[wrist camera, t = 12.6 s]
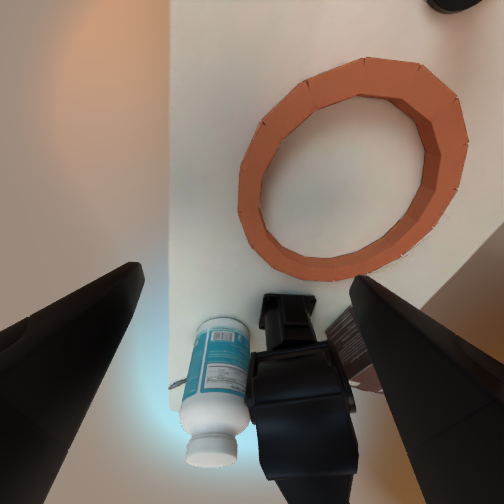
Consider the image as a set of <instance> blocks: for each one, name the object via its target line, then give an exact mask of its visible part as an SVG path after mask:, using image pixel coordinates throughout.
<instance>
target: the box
mask: <svg viewBox="0 0 504 504" xmlns="http://www.w3.org/2000/svg"><path fill="white" fill-rule="evenodd" d="M326 335H327V339H328V340H329V339H332V341H333V344H334V346H335V348H336V351H337V353H338V356H339V358H340V360H341V363H342V365H343V367H344V370H345V372H346V375H347V378H348V380H349V383H350V387H354V388H357V389H360V390H363V391H371V392H375V393H381V394H383V393H384V392H383V390H382V387H381V385H380V382H379V379H378V377H377V374H376V372H375V369H374V366H373V364H372V361H371V359H370V356H369V353H368V351H367V348H366V346H365V343H364V340H363V338H362V335H361V333H360V330H359V327H358V324H357V321H356V317H355V313H354V309H353V307H349V308H348V309H347V310H346V311H345V312H344V313H343V314H342V315H341V316H340V317H339V318H338V319H337V320H336V321H335V322H334V323H333V324H332V325H331V326H330V327H329V328H328V329H327V330H326Z"/></svg>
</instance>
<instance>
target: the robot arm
mask: <svg viewBox="0 0 504 504" xmlns="http://www.w3.org/2000/svg"><path fill="white" fill-rule="evenodd" d="M144 282H145V277H144V274H143V270H142V266H141V264H140V263H139V262H128V263H126V264H124V265H122V266H120V267H118V268H117V269H115V270H113V271H111V272H109V273H107V274H106V275H104V276H102V277H100V278H98V279H97V280H94V281H93V282H91V283H89V284H87V285H85V286H83V287H82V288H80V289H78V290H76V291H74V292H72V293H71V294H69V295H67V296H65V297H63V298H61V299H60V300H58V301H56V302H54V303H52V304H51V305H48V306H47V307H45V308H43V309H41V310H39V311H38V312H36V313H34V314H32V315H30V317H26V318H24V319H23V320H21V321H19V322H17V323H15V324H14V325H12V326H10V327H8V328H6V329H4V330H2V331H0V504H43V503H44V501H45V499H46V497H47V494H48V493H49V490H50V488H51V486H52V484H53V482H54V480H55V478H56V476H57V474H58V472H59V470H60V467H61V465H62V463H63V461H64V459H65V457H66V455H67V453H68V449H69V448H70V446H71V444H72V442H73V440H74V438H75V436H76V434H77V432H78V430H79V428H80V425H81V423H82V421H83V419H84V417H85V415H86V413H87V411H88V409H89V407H90V405H91V402H92V400H93V398H94V396H95V394H96V392H97V390H98V388H99V386H100V384H101V382H102V379H103V378H104V375H105V373H106V371H107V369H108V367H109V365H110V363H111V361H112V359H113V357H114V355H115V353H116V350H117V348H118V346H119V344H120V342H121V340H122V338H123V336H124V334H125V332H126V330H127V328H128V325H129V323H130V321H131V319H132V317H133V314H134V312H135V309H136V306H137V303H138V300H139V297H140V294H141V291H142V288H143V286H144ZM349 294H350V298H351V302H352V306H353V309H354V313H355V317H356V321H357V324H358V327H359V330H360V333H361V335H362V338H363V340H364V343H365V346H366V348H367V351H368V353H369V356H370V359H371V361H372V364H373V366H374V369H375V372H376V374H377V377H378V379H379V382H380V385H381V387H382V390H383V392H384V395H385V397H386V400H387V402H388V405H389V408H390V410H391V413H392V415H393V418H394V421H395V423H396V426H397V429H398V431H399V434H400V436H401V439H402V442H403V444H404V446H405V449H406V452H407V453H408V454H407V455H408V458H409V460H410V463H411V465H412V468H413V470H414V473H415V475H416V478H417V481H418V483H419V486H420V489H421V491H422V494H423V496H424V499H425V502H426V504H504V364H502V363H500V362H499V361H497V360H496V359H494V358H492V357H491V356H489V355H487V354H486V353H484V352H483V351H481V350H480V349H478V348H476V347H475V346H473V345H472V344H470V343H468V342H467V341H466V340H464V339H463V338H461V337H460V336H458V335H455V333H453V332H452V331H451V330H449V329H447V328H446V327H444V326H443V325H441V324H440V323H438V322H437V321H435V320H434V319H432V318H431V317H429V316H428V315H426V314H425V313H423V312H422V311H420V310H419V309H417V308H416V307H414V306H413V305H411V304H409V303H408V302H406V301H405V300H403V299H402V298H400V297H399V296H397V295H396V294H394V293H393V292H391V291H390V290H388V289H387V288H385V287H384V286H382V285H381V284H379V283H378V282H376V281H375V280H373V279H372V278H370V277H368V276H366V275H357V276H356V277H355V278H354V281H353V283H352V285H351V287H350V290H349ZM267 297H269V298H267ZM315 303H316V298H315V297H314V296H305V295H286V294H265V295H264V297H263V303H262V309H261V315H260V321H259V328H260V329H262V330H265V333H266V347H267V351H263V352H257V353H256V352H252V353H251V357H250V360H249V367H248V375H247V383H246V391H245V396H244V404H245V405H246V406H247V408H248V411H249V416H250V419H251V422H252V424H254V425H256V429H257V437H258V447H259V448H258V449H259V461H260V465H261V467H262V470H263V472H264V474H265V476H266V478H267V479H268V481H269V480H270V481H271V480H275V482H276V484H277V485H278V487H279V489H280V491H281V492H282V494H283V496H284V497H285V499H286V501H287V502H288V504H350V503H349V497H350V492H351V486H352V481H353V475H354V474H356V473H357V468H358V458H359V453H358V442H357V438H356V435H355V431H354V427H353V424H352V421H351V417H350V413H356V405H355V401H354V397H353V394H352V390H351V387H350V383H349V380H348V378H347V375H346V372H345V370H344V367H343V365H342V363H341V360H340V358H339V356H338V353H337V351H336V348H335V346H334V344H333V341H332V339H329V340H326V341H322V342H317V339H316V336H315V332H314V329H313V325H312V322H311V318H310V317H311V314H312V312H313V309H314V306H315Z"/></svg>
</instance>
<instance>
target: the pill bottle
mask: <svg viewBox="0 0 504 504" xmlns="http://www.w3.org/2000/svg"><path fill="white" fill-rule="evenodd" d="M249 360H250V335H249V332H248V329H247V328H246V327H245V326H244V325H243V324H242V323H240V322H239V321H236V320H234V319H229V318H216V319H212V320H209V321H207V322H205V323H204V324H202V325H201V326H200V328H199V329H198V331H197V334H196V338H195V343H194V348H193V352H192V357H191V362H190V367H189V371H188V376H187V381H186V385H185V390H184V394H183V399H182V404H181V409H180V415H179V416H180V423H181V425H182V427H183V429H184V430H185V431H186V432H187V433H189V434H190V435H192V438H191V439H190V441H189V443H188V444H187V452H186V458H185V461H186V462H187V463H188V464H190V465H193V466H197V467H206V468H213V467H224V466H228V465H231V464H233V463H235V462H236V460H237V441H236V439H235V436H236V435H238V434H239V433H241V432H242V431H244V430H245V429H246V427H247V426H248V424H249V422H250V416H249V411H248V408H247V406H246V405H245V404H244V396H245V391H246V383H247V375H248V367H249Z"/></svg>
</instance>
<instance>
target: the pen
mask: <svg viewBox="0 0 504 504" xmlns="http://www.w3.org/2000/svg"><path fill="white" fill-rule="evenodd" d="M186 381H187V379H185V380H183V381H179V382H177V383H175V384H173V385H171V386H170V387H169V388H168V389H173V388H175V387H177V386H179V385H181V384H184V383H186Z"/></svg>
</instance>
